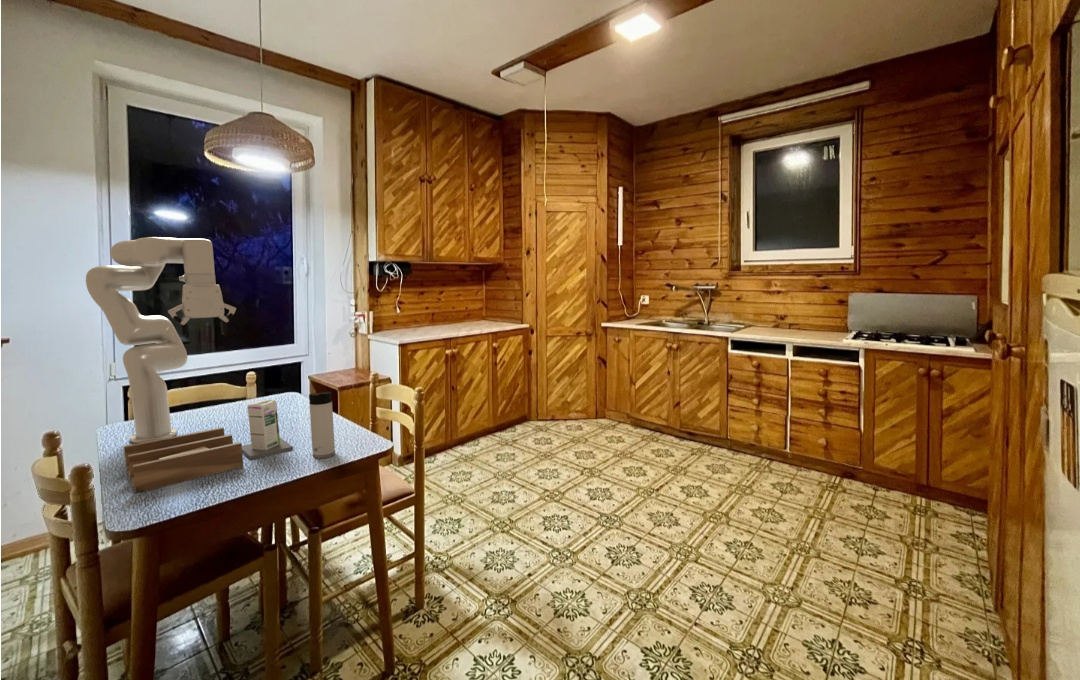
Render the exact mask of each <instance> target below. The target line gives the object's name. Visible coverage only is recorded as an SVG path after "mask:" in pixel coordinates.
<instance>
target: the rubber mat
mask: <svg viewBox="0 0 1080 680" xmlns="http://www.w3.org/2000/svg"><path fill="white" fill-rule="evenodd" d="M292 449H293V450H294V447H293V445H291V444H290V443H288V442H287V441H286V440H284V439H283V438H281V437H280V445H277V446H275V447H273V448H270V449H268V450H267V451H266V450H256V449H252V446H251V443H249V444H244V445H242V454H243V455H245V457H247V458H248V459H249V460H255V459H260V458H263V457H267V456H271V455H276V454H280V453H283V452H288V450H289V451H293V450H292Z"/></svg>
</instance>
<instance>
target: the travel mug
mask: <svg viewBox="0 0 1080 680" xmlns="http://www.w3.org/2000/svg"><path fill="white" fill-rule="evenodd" d="M308 399H309V400H308V401H309V402H308V403H309V417H310V418H309V419H310V433H311V448H312V457H313V458H314V459H327V458H331V457H333V456H334V455H335V454H336V448H335V447H336V446H335V427H334V415H333V414H334V411H333V399H332V392H331V391H323V392H319V393H317V392H316V393H315V392H314V393H310V394H308Z"/></svg>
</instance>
